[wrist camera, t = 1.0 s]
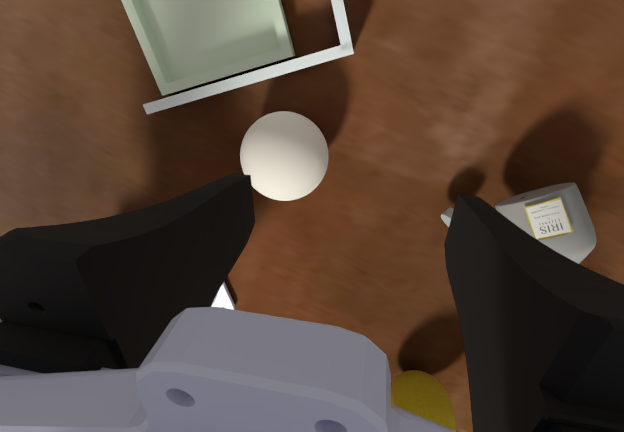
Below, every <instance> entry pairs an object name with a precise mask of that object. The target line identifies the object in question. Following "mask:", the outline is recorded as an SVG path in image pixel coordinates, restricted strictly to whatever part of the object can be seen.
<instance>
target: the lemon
mask: <svg viewBox="0 0 624 432" xmlns="http://www.w3.org/2000/svg"><path fill="white" fill-rule="evenodd" d="M391 405H394V406H396V407H399V408H401V409H403V410H406V411H408V412H411V413H413V414H416V415H418V416H421V417H423V418H426V419H428V420H430V421H433V422H435V423H438V424H440V425H443V426H445V427H448V428H450V429H452V430H455V415H454V410H453V406H452V403H451V400H450V398H449V396H448V394H447V392H446V390H445V389H444V387H443V386H442V385H441V383H440V382H439V381H438V380H437V379H436V378H434V377H433V376H431V375H430V374H428V373H426V372H423V371H419V370H410V371H405V372H403V373H401V374H400V375H398V376H397V377H396V378H395V379H394V380H393V382H392V383H391Z"/></svg>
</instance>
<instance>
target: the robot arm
mask: <svg viewBox="0 0 624 432" xmlns="http://www.w3.org/2000/svg"><path fill="white" fill-rule="evenodd" d="M254 224H255V216H254V206H253V195H252V184H251V175H243V174H232V175H229V176H226V177H224V178H221V179H219V180H216V181H214V182H212V183H209V184H207V185H205V186H203V187H200V188H198V189H196V190H194V191H191V192H189V193H186V194H184V195H181V196H179V197H176V198H173V199H171V200H168V201H166V202H163V203H160V204H157V205H154V206H150V207H147V208H144V209H140V210H137V211H133V212H129V213H124V214H120V215H115V216H111V217H107V218H101V219H96V220H90V221H83V222H76V223H69V224H61V225H50V226H39V227H28V228H16V229H13V230H11V231H9V232H8V233H6V234H4V235H3V236H1V237H0V319H1V320H3V321H2V322H1V323H0V432H457V431H455V430H452V429H450V428H448V427H445V426H443V425H440V424H438V423H435V422H433V421H430V420H428V419H426V418H423V417H421V416H418V415H416V414H413V413H411V412H408V411H406V410H403V409H401V408H399V407H396V406H394V405H391V374H390V369H389V364H388V360H387V355H386V354H385V353H384V352H382V351H381V350H380V349H379V348H378V347H377V346H376V345H375V344H374V343H372V342H371V341H370V340H369V339H368V338H367V337H365V336H364V335H361V334H358V333H356V332H353V331H350V330H347V329H344V328H341V327H338V326H333V325H327V324H320V323H314V322H308V321H302V320H295V319H289V318H283V317H276V316H270V315H264V314H257V313H251V312H245V311H239V310H234V308H235V304H234V302H233V300H232V297H231V295H230V293H229V291H228V289H227V286H226V284H225V282H224V281H225V279H226V277H227V276H228V274H229V272H230V271H231V269H232V267H233V266H234V264H235V262H236V261H237V259H238V257H239V256H240V254H241V252H242V251H243V249H244V247H245V246H246V244H247V242H248V239H249V237H250V234H251V232H252V229H253V227H254ZM444 246H445V258H446V268H447V272H448V277H449V281H450V285H451V289H452V293H453V296H454V300H455V304H456V308H457V312H458V316H459V320H460V324H461V329H462V334H463V340H464V347H465V355H466V362H467V371H468V381H469V390H470V400H471V412H472V423H473V432H624V285H623V284H621V283H618V282H616V281H614V280H611V279H609V278H607V277H605V276H603V275H601V274H598V273H596V272H594V271H592V270H590V269H588V268H586V267H584V266H582V265H580V264H578V263H576V262H574V261H572V260H571V259H569V258H567V257H565V256H563V255H562V254H560V253H558V252H556V251H554V250H553V249H551V248H549V247H548V246H546V245H545V244H543V243H541V242H540V241H538V240H537V239H535V238H534V237H532V236H531V235H529V234H528V233H526V232H525V231H524V230H522V229H521V228H519V227H518V226H517V225H515V224H514V223H513V222H511V221H510V220H509V219H507V218H506V217H505V216H503V215H502V214H501V213H500V212H498V211H497V210H496V209H494V208H493V207H492V206H490V205H489V204H488V203H486V202H485V201H484V200H482V199H481V198H479V197H477V196H467V195H457V199H456V203H455V206H454V210H453V214H452V218H451V221H450V225H449V229H448V233H447V237H446V240H445V244H444ZM223 307H225V308H223Z"/></svg>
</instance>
